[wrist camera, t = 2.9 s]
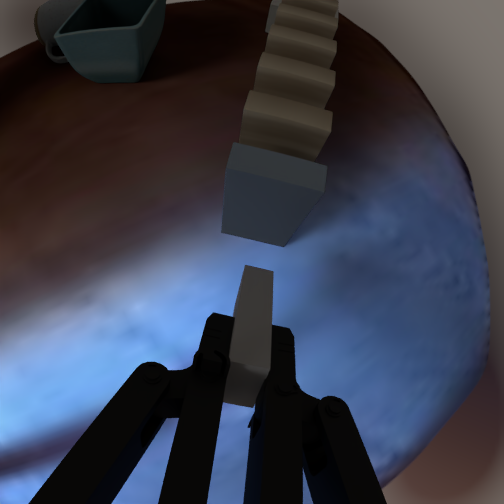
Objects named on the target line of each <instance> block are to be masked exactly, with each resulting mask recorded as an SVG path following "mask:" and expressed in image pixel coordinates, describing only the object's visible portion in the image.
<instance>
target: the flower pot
mask: <svg viewBox="0 0 504 504" xmlns="http://www.w3.org/2000/svg"><path fill="white" fill-rule="evenodd" d="M165 7H166V0H83V1H82V2H81V3H80V5H79V6H78V7H77V8H76V9H75V11H74V12H73V13H72V14H71V15H70V16H69V17H68V19H67V20H66V21H65V22H64V23H63V24H62V26H61V27H60V28H59V29H58V30H57V32H56V33H55V35H54V38H55V40H56V42H57V44H58V45H59V47H60V48H61V50H62V52H63V53H64V55H65V57H66V58H67V60H68V61H69V63H70V64H71V66H72V67H73V68H74V69H75V70H76V71H77V72H78V73H79V74H81V75H82V76H84V77H85V78H87V79H90V80H92V81H94V82H97V83H115V82H138V81H139V80H140V79H141V77H142V75H143V73H144V71H145V68H146V66H147V64H148V62H149V60H150V58H151V55H152V53H153V51H154V49H155V47H156V45H157V43H158V40H159V38H160V35H161V32H162V29H163V24H164V18H165Z"/></svg>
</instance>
